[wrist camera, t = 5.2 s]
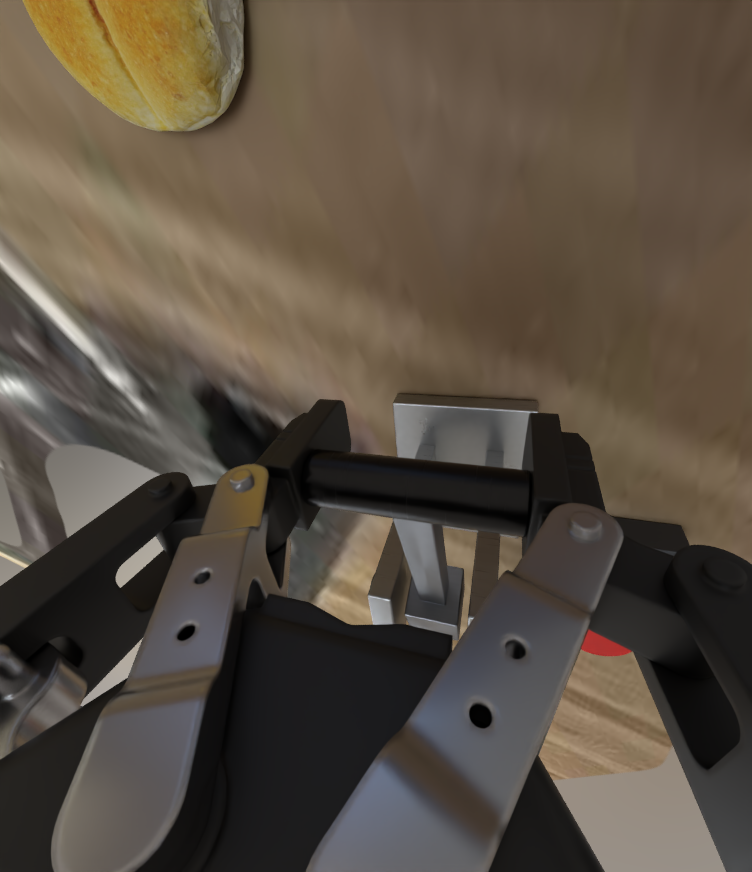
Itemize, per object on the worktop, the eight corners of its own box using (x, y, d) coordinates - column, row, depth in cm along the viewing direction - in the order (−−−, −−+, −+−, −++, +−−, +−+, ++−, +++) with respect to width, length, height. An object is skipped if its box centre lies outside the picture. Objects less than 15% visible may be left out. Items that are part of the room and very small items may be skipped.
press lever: (319, 425, 11) (287, 502, 9) (532, 442, 9) (531, 538, 8) (389, 573, 20) (378, 622, 19) (499, 594, 18) (496, 649, 17)
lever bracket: (397, 393, 24) (320, 543, 14) (537, 400, 21) (552, 585, 12) (406, 509, 29) (355, 671, 20) (518, 525, 27) (518, 716, 18)
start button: (571, 590, 24) (574, 616, 22) (638, 602, 23) (646, 630, 21) (561, 622, 26) (564, 648, 25) (622, 634, 25) (628, 662, 23)
